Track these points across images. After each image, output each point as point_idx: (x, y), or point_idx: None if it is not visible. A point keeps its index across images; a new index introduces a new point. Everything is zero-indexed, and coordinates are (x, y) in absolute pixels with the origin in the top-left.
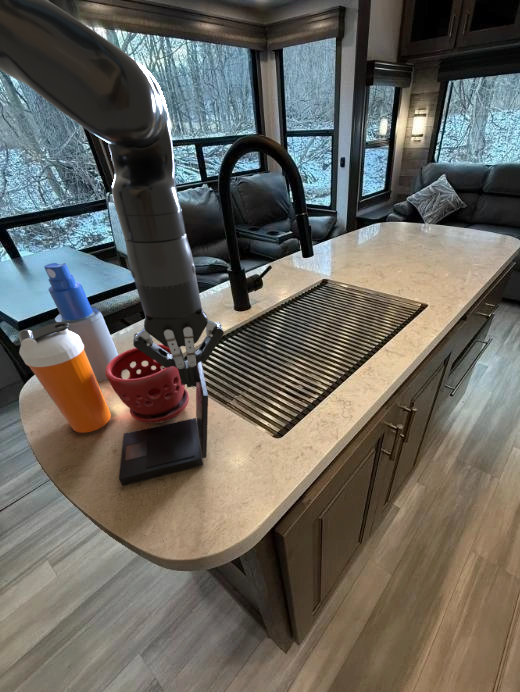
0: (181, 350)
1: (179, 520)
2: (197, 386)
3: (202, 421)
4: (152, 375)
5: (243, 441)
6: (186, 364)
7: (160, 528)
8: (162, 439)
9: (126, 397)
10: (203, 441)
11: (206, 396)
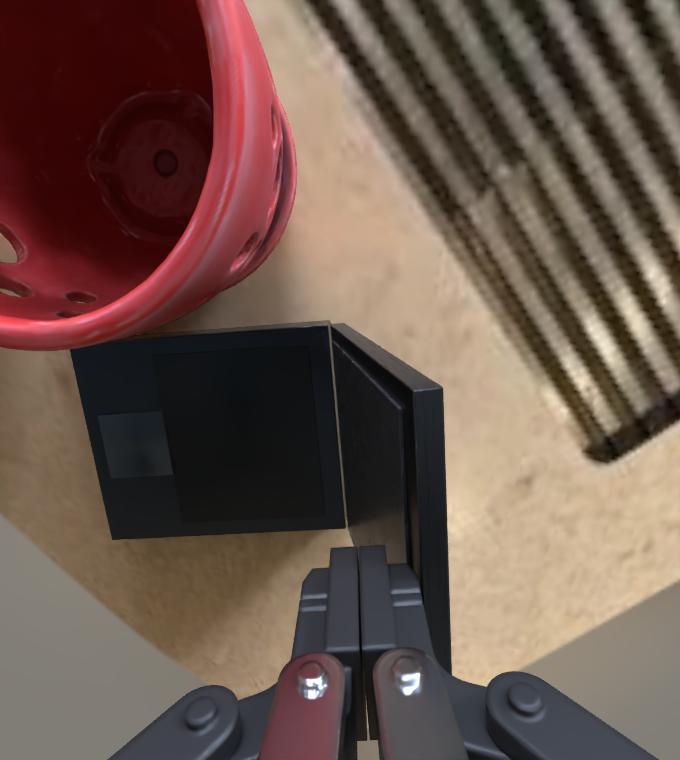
0: (338, 744)
1: (286, 650)
2: (377, 458)
3: None
4: (107, 326)
5: (481, 447)
6: (360, 694)
7: (245, 657)
8: (213, 415)
9: (11, 281)
10: None
11: None
